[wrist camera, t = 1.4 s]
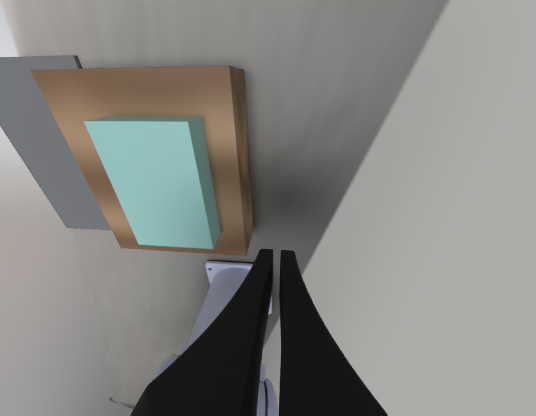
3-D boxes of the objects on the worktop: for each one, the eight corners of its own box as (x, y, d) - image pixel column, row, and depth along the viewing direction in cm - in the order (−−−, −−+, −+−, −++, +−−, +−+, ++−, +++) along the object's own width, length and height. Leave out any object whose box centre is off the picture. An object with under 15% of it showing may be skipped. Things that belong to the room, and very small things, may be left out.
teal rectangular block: (220, 232, 17) (213, 249, 16) (153, 229, 18) (138, 244, 16) (201, 116, 13) (187, 121, 11) (110, 116, 13) (83, 121, 11)
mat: (146, 230, 23) (145, 231, 23) (68, 226, 24) (66, 227, 24) (76, 56, 15) (73, 55, 15) (-39, 58, 16) (-44, 58, 16)
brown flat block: (253, 228, 22) (246, 255, 18) (146, 223, 23) (121, 248, 19) (243, 69, 14) (229, 66, 11) (87, 72, 16) (29, 69, 12)
